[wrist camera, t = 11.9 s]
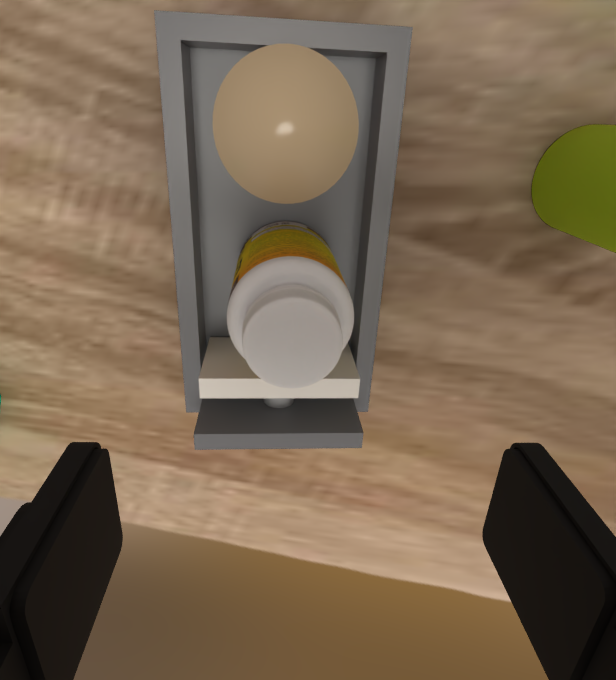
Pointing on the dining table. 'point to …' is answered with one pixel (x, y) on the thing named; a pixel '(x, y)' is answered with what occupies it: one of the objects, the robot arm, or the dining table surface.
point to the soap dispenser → (580, 185)
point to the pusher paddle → (241, 382)
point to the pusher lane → (275, 210)
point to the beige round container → (285, 123)
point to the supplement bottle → (289, 306)
